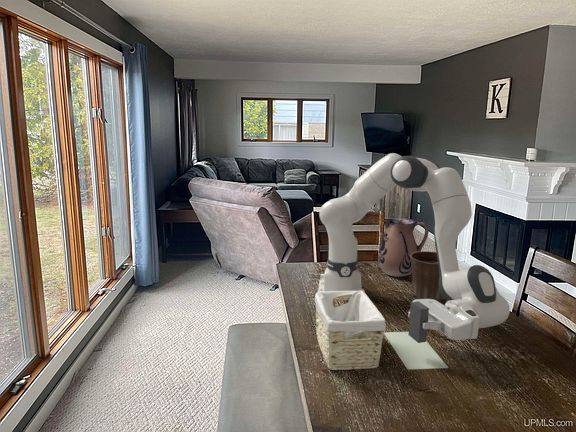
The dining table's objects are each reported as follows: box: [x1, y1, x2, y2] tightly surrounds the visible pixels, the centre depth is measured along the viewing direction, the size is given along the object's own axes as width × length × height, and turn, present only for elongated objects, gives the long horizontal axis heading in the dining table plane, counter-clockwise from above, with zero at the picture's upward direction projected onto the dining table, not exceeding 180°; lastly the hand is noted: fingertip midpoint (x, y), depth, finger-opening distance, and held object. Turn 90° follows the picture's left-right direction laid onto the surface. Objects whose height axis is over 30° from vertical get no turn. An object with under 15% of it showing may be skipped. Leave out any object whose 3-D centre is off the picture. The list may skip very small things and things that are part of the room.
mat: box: [383, 331, 449, 370], centre depth 129 cm, size 22×12×1 cm, turn 5°
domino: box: [408, 301, 429, 343], centre depth 122 cm, size 5×3×10 cm, turn 17°
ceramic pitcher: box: [377, 217, 429, 278], centre depth 196 cm, size 18×21×25 cm
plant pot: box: [410, 250, 445, 302], centre depth 170 cm, size 16×16×16 cm
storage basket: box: [314, 290, 387, 371], centre depth 127 cm, size 24×16×15 cm
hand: (415, 320), depth 122 cm, fingers closed on domino, 5 cm apart
